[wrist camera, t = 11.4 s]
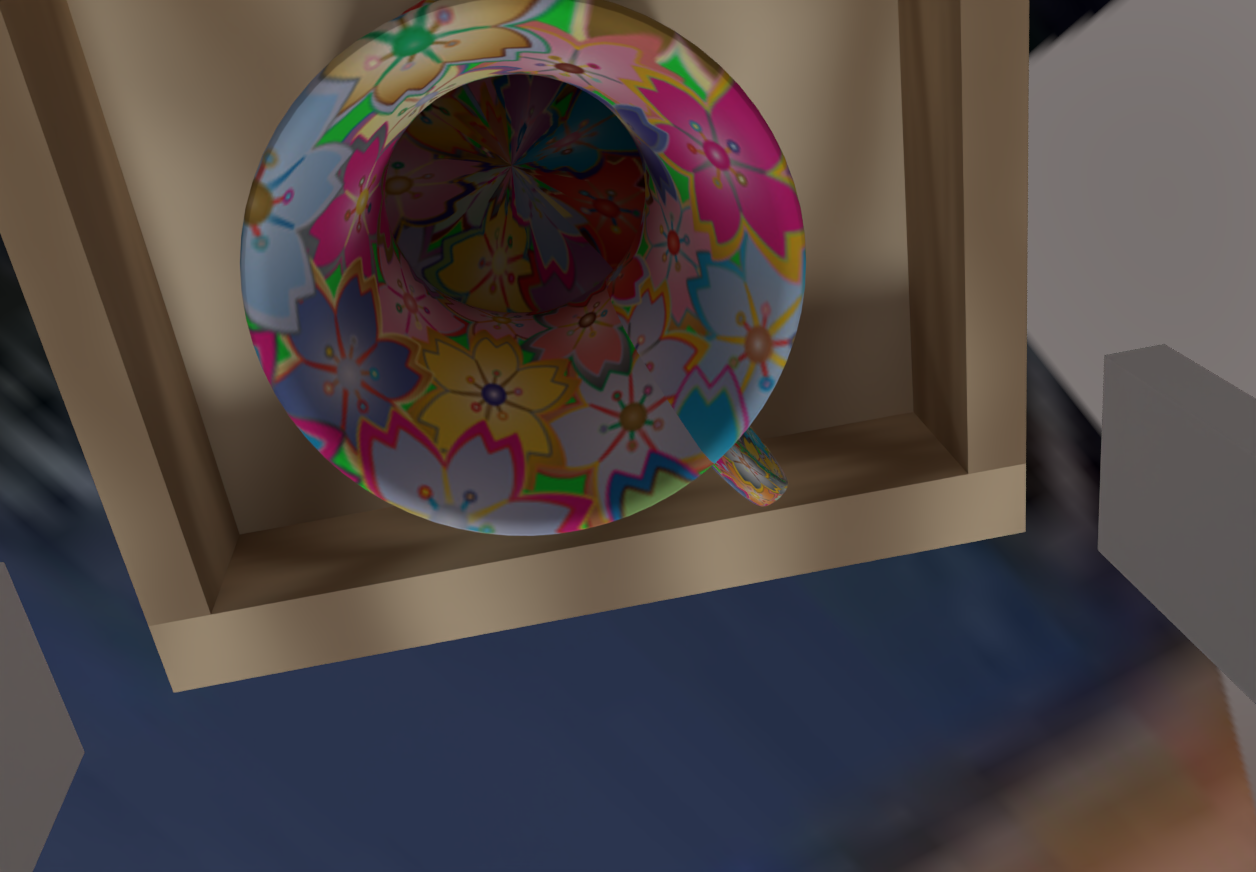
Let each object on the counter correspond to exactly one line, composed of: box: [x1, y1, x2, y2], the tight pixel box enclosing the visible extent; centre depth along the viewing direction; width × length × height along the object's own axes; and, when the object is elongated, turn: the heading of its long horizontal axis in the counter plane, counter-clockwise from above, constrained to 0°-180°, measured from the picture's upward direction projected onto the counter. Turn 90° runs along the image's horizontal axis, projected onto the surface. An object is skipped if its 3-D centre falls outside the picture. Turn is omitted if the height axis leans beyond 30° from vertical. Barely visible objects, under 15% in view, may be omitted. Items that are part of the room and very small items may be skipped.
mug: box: [240, 0, 806, 536], centre depth 25 cm, size 12×9×11 cm
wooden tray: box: [0, 0, 1029, 692], centre depth 28 cm, size 22×19×5 cm
